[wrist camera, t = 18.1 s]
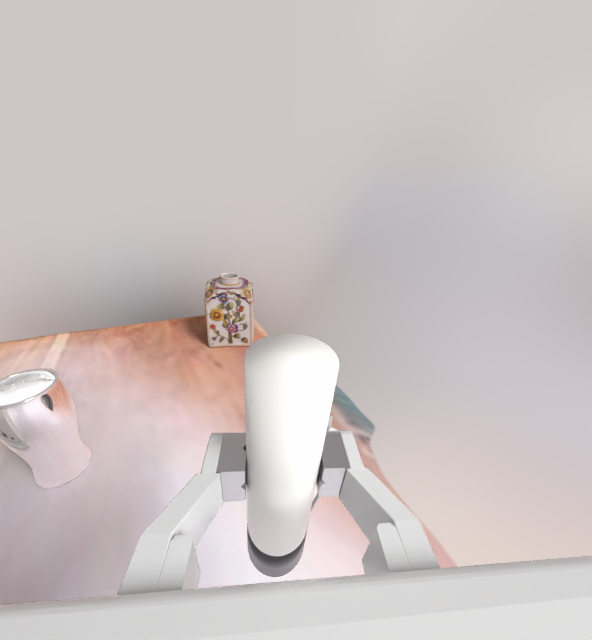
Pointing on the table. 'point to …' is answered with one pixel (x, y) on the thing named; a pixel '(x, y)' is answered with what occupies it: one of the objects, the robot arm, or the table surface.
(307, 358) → the white rounded cylinder
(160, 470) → the table surface
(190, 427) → the table surface
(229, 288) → the decorative jar
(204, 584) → the table surface
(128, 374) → the table surface
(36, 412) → the beer glass
